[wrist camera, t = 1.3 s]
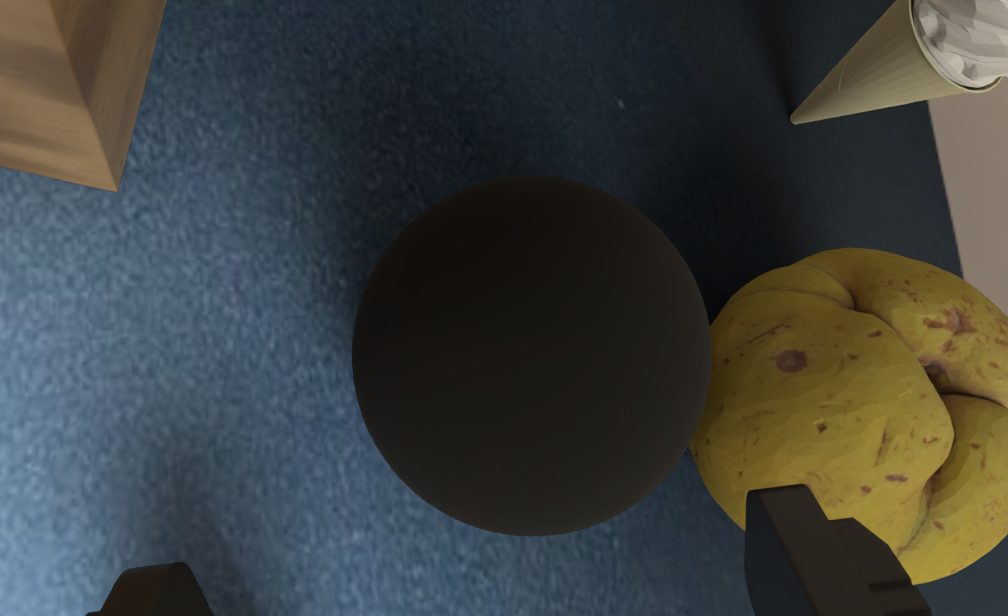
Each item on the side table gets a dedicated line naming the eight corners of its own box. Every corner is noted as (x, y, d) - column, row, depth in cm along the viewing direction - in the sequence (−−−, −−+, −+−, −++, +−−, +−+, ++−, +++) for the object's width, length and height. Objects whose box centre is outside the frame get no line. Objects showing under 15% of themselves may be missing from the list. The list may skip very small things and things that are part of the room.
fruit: (887, 501, 31) (1166, 524, 22) (674, 609, 26) (918, 695, 17) (808, 258, 32) (1047, 183, 23) (588, 320, 27) (778, 257, 18)
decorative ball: (518, 572, 24) (701, 648, 15) (263, 416, 22) (299, 397, 13) (639, 332, 28) (846, 277, 19) (428, 177, 26) (547, 31, 17)
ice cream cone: (740, 66, 32) (1124, -210, 19) (822, 69, 34) (1225, -177, 21) (762, 172, 32) (1176, -33, 18) (845, 170, 34) (1275, -17, 20)
